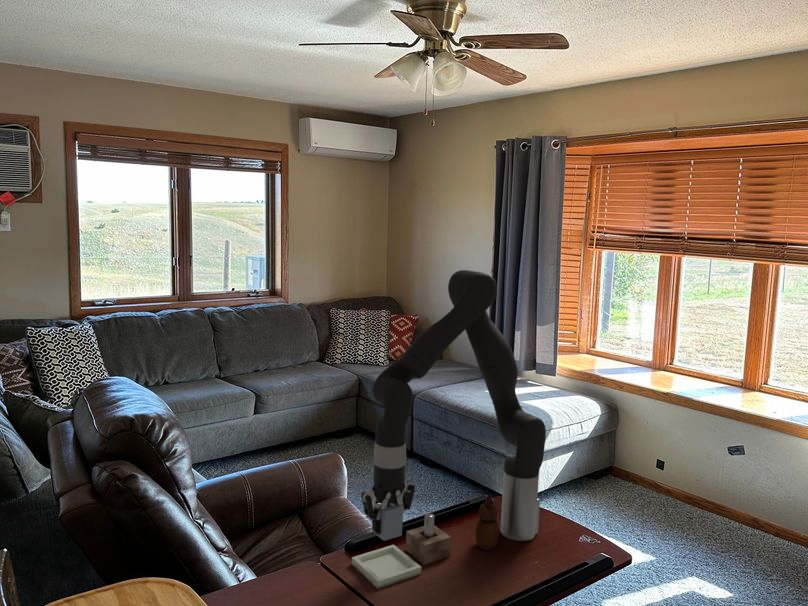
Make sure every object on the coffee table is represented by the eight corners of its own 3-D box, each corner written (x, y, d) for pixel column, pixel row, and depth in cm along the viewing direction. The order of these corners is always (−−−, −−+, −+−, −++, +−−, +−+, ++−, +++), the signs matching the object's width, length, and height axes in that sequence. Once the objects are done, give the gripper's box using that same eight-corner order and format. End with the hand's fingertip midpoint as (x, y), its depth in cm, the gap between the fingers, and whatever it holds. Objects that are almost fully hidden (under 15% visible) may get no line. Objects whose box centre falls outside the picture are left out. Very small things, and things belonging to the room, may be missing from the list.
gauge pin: (429, 550, 162) (430, 512, 161) (434, 554, 160) (436, 516, 159) (421, 552, 161) (422, 514, 159) (426, 556, 159) (428, 518, 158)
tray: (393, 551, 161) (393, 544, 161) (421, 574, 151) (421, 566, 151) (351, 564, 154) (351, 557, 154) (377, 589, 144) (378, 581, 144)
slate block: (390, 526, 155) (391, 499, 154) (401, 535, 151) (402, 507, 150) (372, 531, 152) (373, 503, 151) (383, 540, 148) (384, 511, 147)
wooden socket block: (431, 541, 166) (432, 523, 166) (450, 555, 160) (451, 537, 159) (405, 549, 162) (406, 531, 161) (424, 564, 155) (424, 545, 155)
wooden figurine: (496, 554, 161) (499, 497, 159) (473, 551, 162) (476, 495, 160) (498, 541, 168) (501, 486, 166) (476, 538, 169) (479, 484, 167)
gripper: (371, 472, 142) (369, 544, 144) (424, 460, 150) (421, 529, 152) (354, 461, 148) (353, 530, 150) (406, 450, 156) (403, 516, 158)
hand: (387, 529), depth 151 cm, fingers closed on slate block, 5 cm apart
